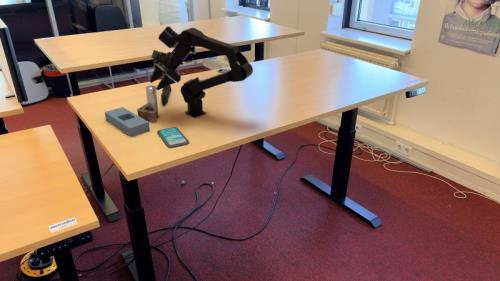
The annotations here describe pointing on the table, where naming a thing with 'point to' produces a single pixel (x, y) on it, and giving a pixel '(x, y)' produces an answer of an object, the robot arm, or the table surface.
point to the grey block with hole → (127, 121)
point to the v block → (146, 113)
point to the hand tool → (165, 94)
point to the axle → (152, 99)
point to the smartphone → (172, 137)
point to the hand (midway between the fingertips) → (153, 85)
